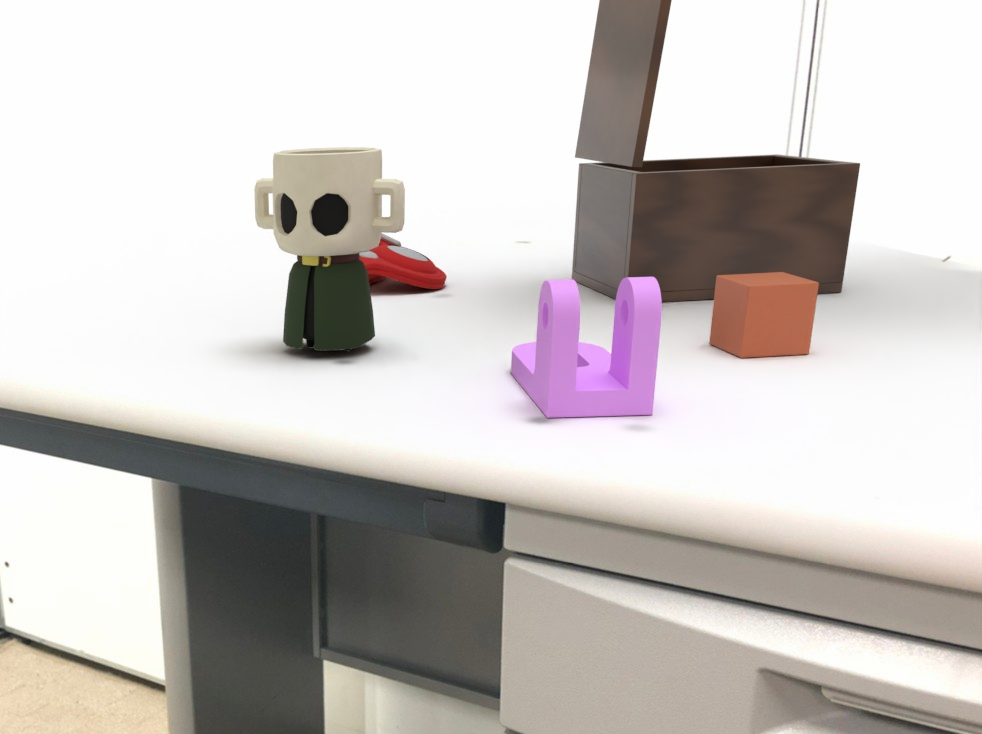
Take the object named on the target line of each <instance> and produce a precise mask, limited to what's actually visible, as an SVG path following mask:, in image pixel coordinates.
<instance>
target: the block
mask: <svg viewBox="0 0 982 734" xmlns="http://www.w3.org/2000/svg"><path fill="white" fill-rule="evenodd" d="M818 286H819V282H816V281H812V280H809V279H805V278H802V277H798V276H795V275H791V274H788V273H784V272H772V273H752V274H733V275H717V276H716V285H715V294H714V299H713V306H712V314H711V323H710V333H709V341H708V343H709V345H711V346H713V347H716V348H718V349H720V350H722V351H725V352H727V353H729V354H732V355H734V356H736V357H738V358H740V359H747V358H763V357H764V358H765V357H780V356H781V357H783V356H796V355H797V356H799V355H809V354H810V349H811V343H812V336H813V335H812V334H813V328H814V321H815V316H816V315H815V314H816V306H817V299H818V294H817V293H818Z"/></svg>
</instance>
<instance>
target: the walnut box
mask: <svg viewBox="0 0 982 734" xmlns="http://www.w3.org/2000/svg"><path fill="white" fill-rule="evenodd" d="M860 168H861V163H860V162H854V161H853V162H852V161H842V160H833V159H825V158H824V159H823V158H815V157H805V156H797V155H788V154H787V155H786V154H779V153H777V154H758V155H757V154H756V155H755V154H753V155H735V156H733V155H732V156H713V157H691V158H670V159H666V158H665V159H647V160H644V159H643V164H642V167H630V166H624V165H618V164H612V163H606V162H599V161H598V162H581V163H580V162H579V163H578V173H577V188H576V189H577V191H576V204H575V220H574V234H573V235H574V236H573V249H572V252H573V253H572V267H571V279H574V280H575V282H576V283H578V284H580V285H583V286H585V287H587V288H589V289H592V290H594V291H597V292H599V293H601V294H603V295H604V296H605V295H606V296H608V297H610V298H613V299H615V300H616V296H617V291H618V288H619V285H620V283H621V281H622V279H623V278H627V277H655V278H656V280H657V282H658V284H659V287H660V292H661V300H662V303H667V302H668V303H669V302H686V301H687V302H688V301H689V302H690V301H707V300H714V294H715V285H716V276H717V275H733V274H752V273H772V272H784V273H788V274H791V275H795V276H798V277H802V278H805V279H809V280H812V281H816V282H819V286H818V293H817V295H818V294H836V293H837V294H838V293H842V290H843V284H844V278H845V272H846V271H845V270H846V263H847V257H848V251H849V244H850V236H851V231H852V230H851V229H852V223H853V216H854V211H855V210H854V209H855V203H856V195H857V188H858V182H859V176H860V174H859V173H860Z"/></svg>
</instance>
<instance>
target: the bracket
mask: <svg viewBox="0 0 982 734" xmlns="http://www.w3.org/2000/svg"><path fill="white" fill-rule="evenodd" d="M614 305H615V306H614V315H613V316H614V317H613V326H612V327H613V330H612V340H611V341H612V342H611V352H609V351H608V350H607V349H606V348H604V347H602V346H600V345H597V344H593V343H588V342H582V341H580V329H581V328H580V327H581V326H580V325H581V299H580V291H579V287H578V284H577V282H576V281H575V280H574V279H572V278H570V279H568V278H567V279H545V280H544V281H543V282H542V284H541V288H540V291H539V298H538V305H537V306H538V307H537V321H536V323H537V324H536V338H535V339H536V340H535V341H531V342H525V343H521V344H518V345H515V346H514V347H512V348H511V359H510V362H511V364H510V374H511V376H513V378H514V379H515V380H516V381H517V382H518V384H519V385H520V386H521V388H522V389H523V390H524V391H525V392H526V394H527V395H528V396H529V397H530V398H531V400H532V401H533V402H534V404H535V405H536V406H537V407H538V408H539V410H540V411H541V412H542V413H543V415H544V416H545V417H546V419H547V418H548V419H549V418H550V419H551V418H553V419H554V418H579V417H580V418H587V417H620V416H621V417H622V416H653V412H654V402H655V390H656V382H657V379H656V378H657V369H658V358H659V347H660V339H661V338H660V336H661V327H662V313H663V312H662V311H663V302H662V300H661V292H660V287H659V284H658V282H657V280H656V278H655V277H627V278H623V279H622V281H621V283H620V285H619V288H618V291H617V296H616V299H615V303H614Z"/></svg>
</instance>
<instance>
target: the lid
mask: <svg viewBox="0 0 982 734" xmlns="http://www.w3.org/2000/svg"><path fill="white" fill-rule="evenodd" d="M671 5H672V0H598V7H597V15H596V19H595V20H596V21H595V26H594V32H593V39H592V45H591V52H590V59H589V65H588V72H587V77H586V83H585V90H584V95H583V96H584V97H583V102H582V109H581V115H580V121H579V122H580V123H579V129H578V134H577V141H576V146H575V153H574V158H575V159H581V160H582V159H583V160H587V161H595V162H598V163H599V162H606V163H612V164H618V165H624V166H630V167H642V164H643V160H644V158H645V153H646V147H647V141H648V136H649V130H650V125H651V118H652V112H653V107H654V101H655V96H656V90H657V85H658V79H659V73H660V68H661V63H662V57H663V51H664V45H665V40H666V34H667V29H668V22H669V18H670V11H671Z"/></svg>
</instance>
